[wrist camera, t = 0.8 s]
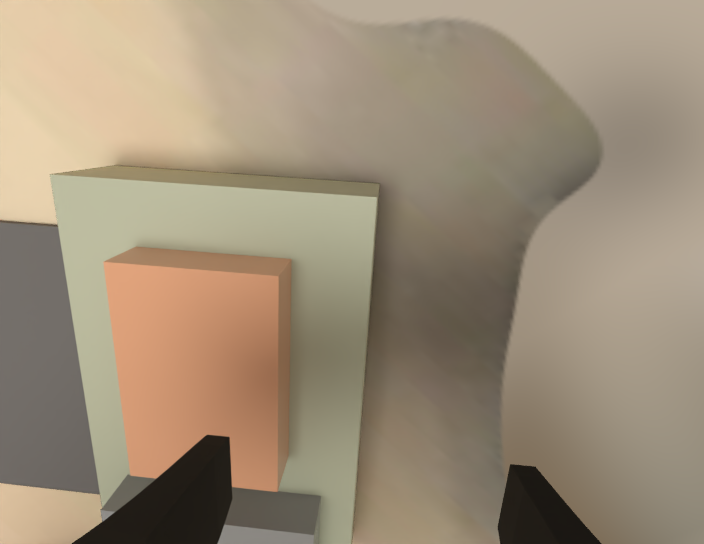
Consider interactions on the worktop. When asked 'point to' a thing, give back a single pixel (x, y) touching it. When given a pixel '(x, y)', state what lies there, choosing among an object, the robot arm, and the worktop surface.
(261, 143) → the worktop surface
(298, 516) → the slate gray rectangular block
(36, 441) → the mat
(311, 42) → the worktop surface
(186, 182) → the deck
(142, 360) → the peach rectangular tile
